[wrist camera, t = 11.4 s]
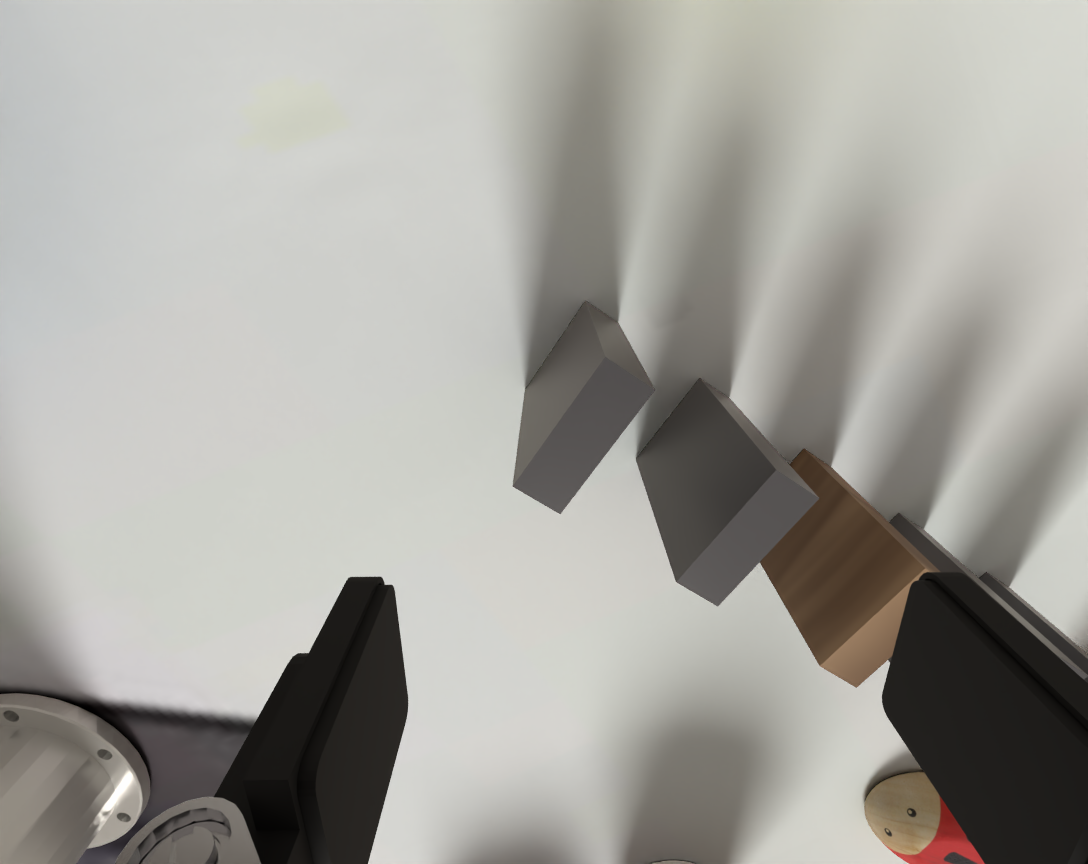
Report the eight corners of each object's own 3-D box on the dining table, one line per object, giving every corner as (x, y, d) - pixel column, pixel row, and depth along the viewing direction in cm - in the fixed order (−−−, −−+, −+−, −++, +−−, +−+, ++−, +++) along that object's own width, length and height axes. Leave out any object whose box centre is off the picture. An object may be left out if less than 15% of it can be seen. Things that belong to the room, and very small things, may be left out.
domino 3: (736, 522, 30) (819, 666, 21) (803, 448, 29) (925, 568, 19) (763, 539, 31) (856, 687, 21) (830, 467, 29) (962, 593, 20)
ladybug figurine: (897, 748, 36) (931, 802, 33) (1024, 794, 38) (1070, 851, 35) (835, 816, 39) (862, 873, 35) (957, 856, 40) (994, 916, 37)
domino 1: (524, 389, 28) (512, 486, 18) (585, 300, 26) (605, 356, 17) (556, 409, 28) (560, 514, 19) (618, 322, 27) (655, 389, 17)
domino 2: (635, 459, 29) (676, 581, 20) (699, 377, 27) (776, 469, 18) (664, 477, 29) (717, 606, 20) (729, 398, 28) (819, 498, 19)
